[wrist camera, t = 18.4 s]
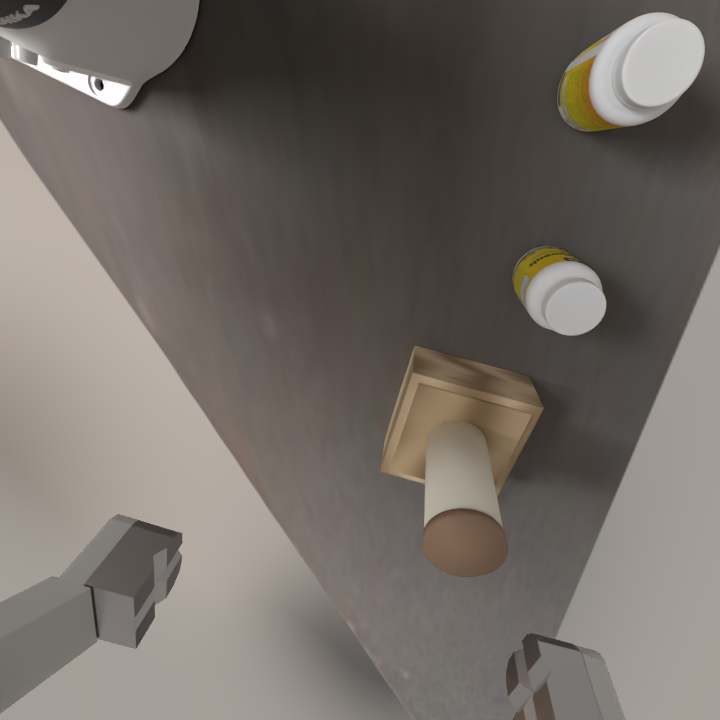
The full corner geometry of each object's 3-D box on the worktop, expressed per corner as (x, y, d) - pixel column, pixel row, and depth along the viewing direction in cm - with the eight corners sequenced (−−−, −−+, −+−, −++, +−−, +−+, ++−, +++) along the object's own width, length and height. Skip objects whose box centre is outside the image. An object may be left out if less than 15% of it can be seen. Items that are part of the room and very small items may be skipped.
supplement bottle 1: (579, 243, 36) (627, 272, 27) (568, 303, 39) (609, 347, 30) (514, 244, 37) (541, 272, 28) (507, 302, 39) (530, 345, 31)
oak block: (385, 436, 48) (379, 473, 43) (414, 345, 43) (412, 374, 37) (486, 464, 48) (494, 505, 42) (529, 376, 42) (544, 410, 37)
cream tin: (417, 460, 41) (413, 563, 31) (434, 412, 38) (435, 507, 28) (475, 475, 41) (491, 585, 30) (496, 428, 38) (521, 531, 28)
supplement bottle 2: (591, 147, 33) (653, 146, 24) (538, 101, 32) (582, 81, 23) (653, 77, 30) (749, 46, 21) (598, 25, 30) (673, -31, 21)
